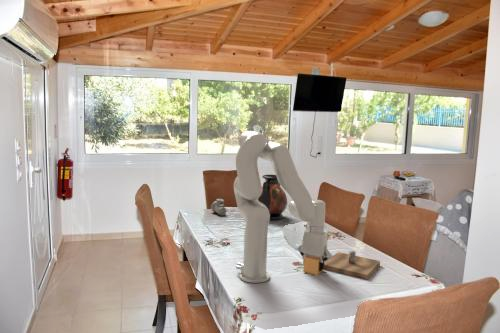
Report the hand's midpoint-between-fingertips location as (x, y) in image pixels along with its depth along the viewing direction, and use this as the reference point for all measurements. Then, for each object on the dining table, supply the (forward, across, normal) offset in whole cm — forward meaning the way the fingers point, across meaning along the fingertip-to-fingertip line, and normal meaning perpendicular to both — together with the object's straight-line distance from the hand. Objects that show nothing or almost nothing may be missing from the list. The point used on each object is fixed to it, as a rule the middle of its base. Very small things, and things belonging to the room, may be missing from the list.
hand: (313, 268), depth 172 cm
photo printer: (+1, -8, +22) cm, 23 cm away
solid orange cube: (+1, 0, 0) cm, 1 cm away
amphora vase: (+1, -61, +69) cm, 92 cm away
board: (+1, +12, +15) cm, 19 cm away
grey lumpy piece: (+1, -93, +55) cm, 108 cm away
